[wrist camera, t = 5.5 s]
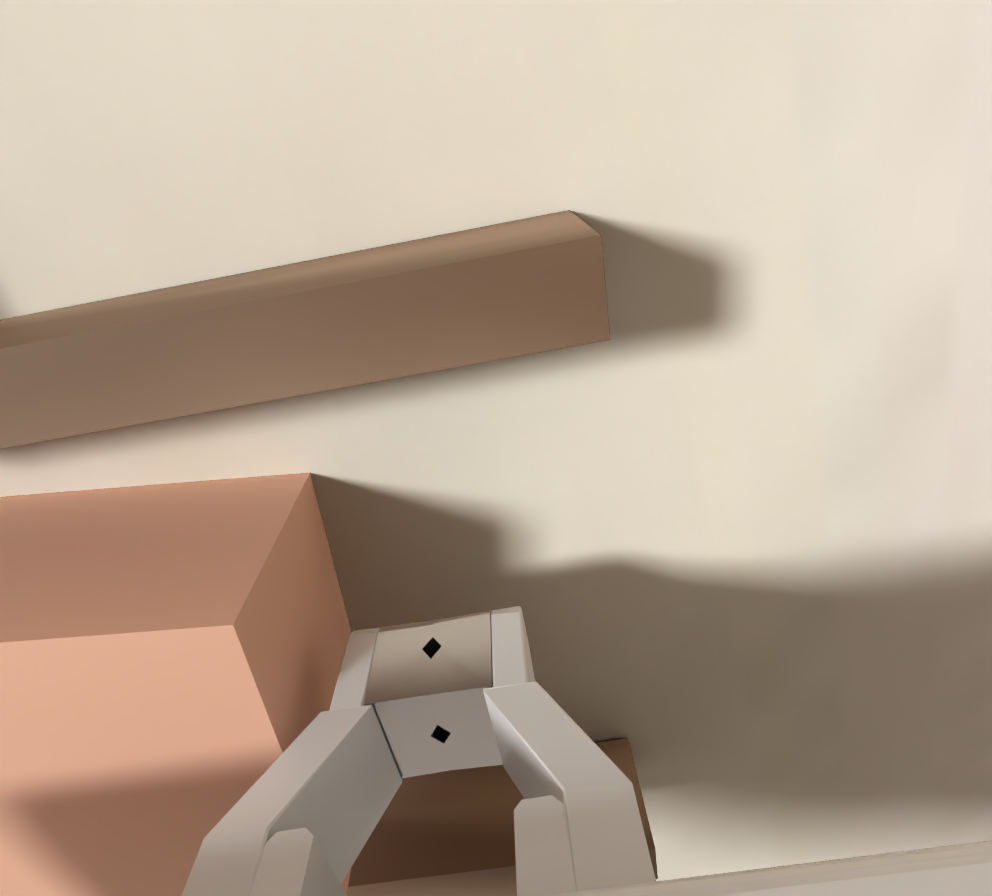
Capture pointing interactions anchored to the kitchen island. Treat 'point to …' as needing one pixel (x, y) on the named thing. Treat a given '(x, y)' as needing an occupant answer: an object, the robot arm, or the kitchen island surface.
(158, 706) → the block
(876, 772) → the kitchen island surface
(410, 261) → the box
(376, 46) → the kitchen island surface
